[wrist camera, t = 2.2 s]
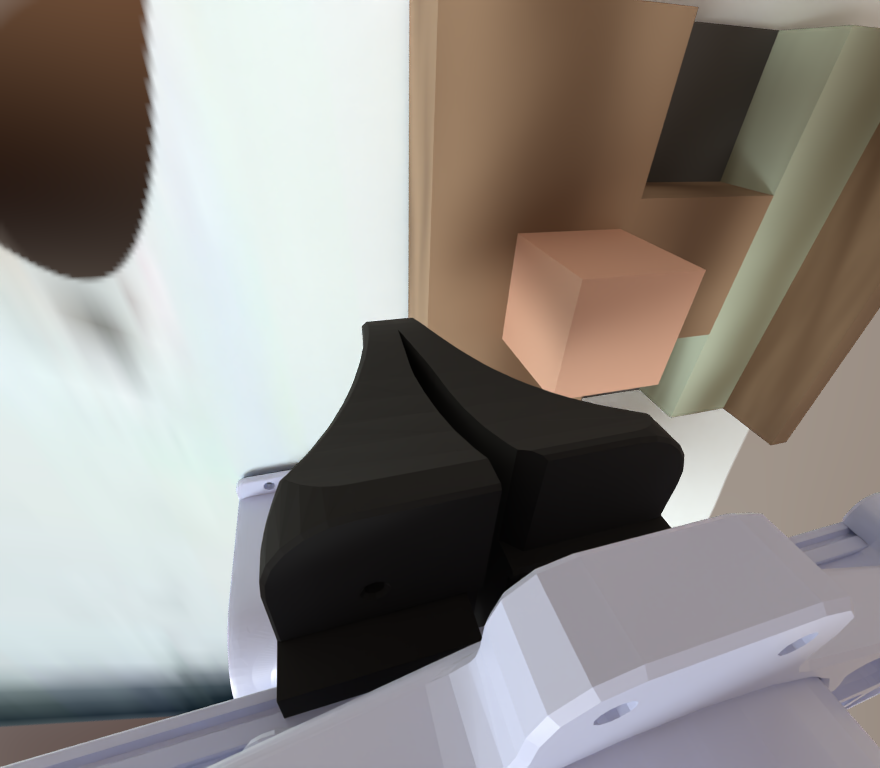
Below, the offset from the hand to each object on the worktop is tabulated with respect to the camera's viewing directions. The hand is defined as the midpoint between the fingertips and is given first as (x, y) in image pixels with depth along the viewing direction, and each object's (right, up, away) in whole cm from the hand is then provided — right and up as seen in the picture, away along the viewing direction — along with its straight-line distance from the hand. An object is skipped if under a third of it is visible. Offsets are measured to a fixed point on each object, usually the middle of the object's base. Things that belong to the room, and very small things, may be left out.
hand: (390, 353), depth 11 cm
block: (+6, +3, +4) cm, 8 cm away
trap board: (+9, +5, +8) cm, 13 cm away
